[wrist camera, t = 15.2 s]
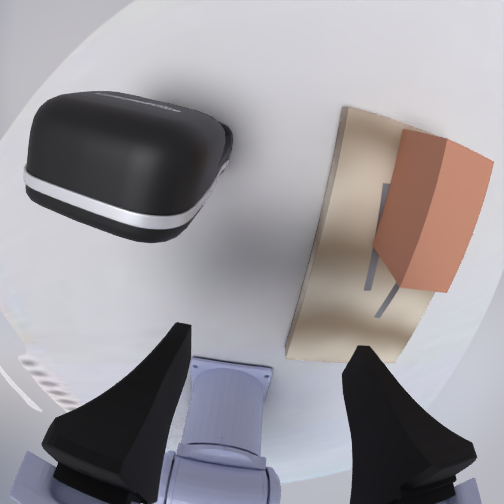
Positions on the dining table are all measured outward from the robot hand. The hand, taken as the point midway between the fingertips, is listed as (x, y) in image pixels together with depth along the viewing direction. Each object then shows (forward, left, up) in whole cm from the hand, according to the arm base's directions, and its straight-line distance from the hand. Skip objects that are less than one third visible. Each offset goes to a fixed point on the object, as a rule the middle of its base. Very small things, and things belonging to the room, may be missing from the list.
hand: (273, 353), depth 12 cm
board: (0, -8, -10) cm, 13 cm away
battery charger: (+7, +7, -10) cm, 14 cm away
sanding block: (+6, -8, -8) cm, 13 cm away
